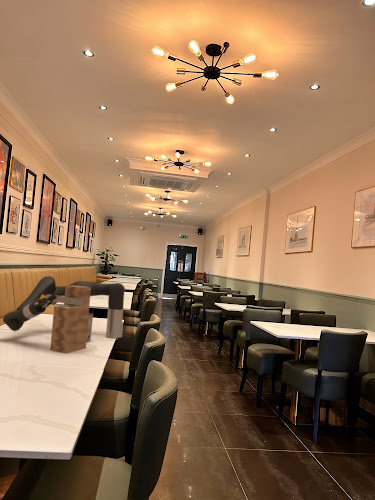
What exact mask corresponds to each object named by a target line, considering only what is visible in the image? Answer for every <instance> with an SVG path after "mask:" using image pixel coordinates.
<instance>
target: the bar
mask: <svg viewBox="0 0 375 500" xmlns="http://www.w3.org/2000/svg"><path fill="white" fill-rule="evenodd" d="M50 296H51V295H46V296H45V298H47V297H50ZM52 302H57V303H61V304H64V303H66V304H74V305H83V303H84V299H81V298H73V297H65V296H58V295H56V298H55V299H53V300H52Z"/></svg>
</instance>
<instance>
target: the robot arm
mask: <svg viewBox="0 0 375 500" xmlns="http://www.w3.org/2000/svg"><path fill="white" fill-rule="evenodd" d="M66 286H85V287H91V293H90V297H96V296H97V297H98V296H108V302H107V303H108V304H107V305H108V306H107V319H106V330H105V331H106V332H105V337H106V338H110V339H120V338H122V337H123V330H124V322H123V318H124V317H123V316H124V303H125V302H124V300H125V299H124V298H125V293H126V288H125V286H124V284H122V283H121V282H114V283H113V282H112V283H111V282H110V283H101V282H95V281H94V282H93V281H85V280H84V281H83V280H82V281H81V280H80V281H79V280H78V281H74V282H73V283H70V284H67V285H64V286H57V285H56V279H55V278H54V277H53V276H51V275H47V276H44V277H41V279H40V280H39V282H38V283H37V284H36V286H35V287H33V290H32V291H31V292H30V294H29V295H28V297H27V298H25V300H24V301H23V302H21V304H20V305H19V306H18V307H17V308H16V309H15V310H12V311H9V312H7V313H5V315H4V316H3V318H2V321H3V323H4V324H5V325H6V326H7V327H8V328H9V329H10V330H12V332H17V331H20V329H21V328H22V327H23V326H24V324H25V323H26V322H28V321H30V320H32V319H33V318H36V317H38V316H40V315H41V314H43V313H45V311H46V310H47V308H49V307H50V306H51V305H52V306H56V304H57V303H58V302H52V300H53V299H55V298H56V295H58V296H65V288H66ZM46 295H51V296H50V297H47V298H46ZM42 296H45V297H43V298H41V297H42Z"/></svg>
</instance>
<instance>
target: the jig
mask: <svg viewBox="0 0 375 500" xmlns="http://www.w3.org/2000/svg"><path fill="white" fill-rule="evenodd" d="M65 286H66V288H65V297H73V298H81V299H84V303H83V305H74V304H66V303H63V304H62V305H61V304H60V305H59V304H58V305H53V306H54V307H53V316H52V327H51V336H50V337H51V339H50V348H49V349H50V351H51V352H52V351H53V352H57V353H62V354H69V353H72V352H76V351H79V350H84V349H86V348H87V342H86V340H87V329H88V317H89V313H90V304H91V303H90V302H91V296H90V293H91V287H85V286H68V285H65Z"/></svg>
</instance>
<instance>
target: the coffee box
mask: <svg viewBox="0 0 375 500" xmlns="http://www.w3.org/2000/svg"><path fill="white" fill-rule="evenodd" d="M93 317H94V313H92V312H91V313H90V312H89V317H88V329H87V340H86V343H90V342H91V340H92V339H91V338H92V330H93V329H92V328H93V322H94V321H93Z"/></svg>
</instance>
